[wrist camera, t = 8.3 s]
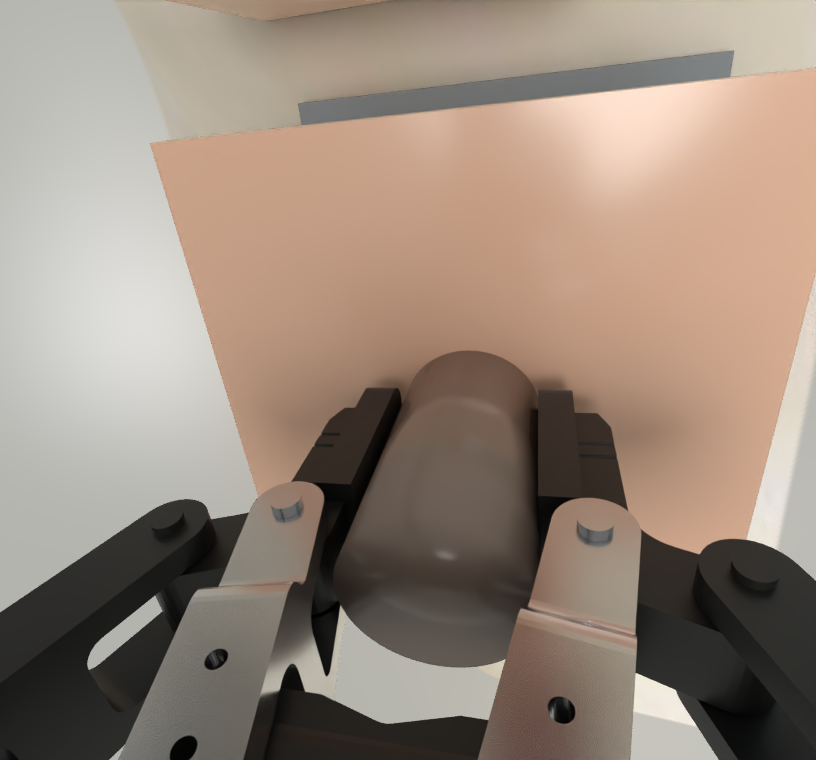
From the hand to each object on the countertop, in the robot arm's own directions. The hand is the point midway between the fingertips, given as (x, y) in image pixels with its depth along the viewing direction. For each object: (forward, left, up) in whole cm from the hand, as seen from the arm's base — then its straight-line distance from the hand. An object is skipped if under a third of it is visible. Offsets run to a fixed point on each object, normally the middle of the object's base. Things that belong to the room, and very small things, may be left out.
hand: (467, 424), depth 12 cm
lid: (0, 0, -1) cm, 1 cm away
